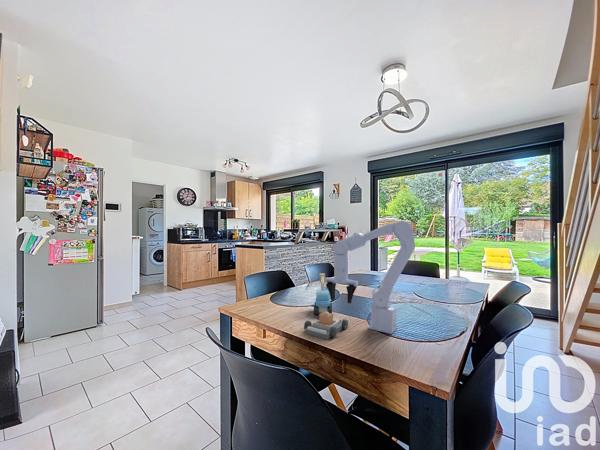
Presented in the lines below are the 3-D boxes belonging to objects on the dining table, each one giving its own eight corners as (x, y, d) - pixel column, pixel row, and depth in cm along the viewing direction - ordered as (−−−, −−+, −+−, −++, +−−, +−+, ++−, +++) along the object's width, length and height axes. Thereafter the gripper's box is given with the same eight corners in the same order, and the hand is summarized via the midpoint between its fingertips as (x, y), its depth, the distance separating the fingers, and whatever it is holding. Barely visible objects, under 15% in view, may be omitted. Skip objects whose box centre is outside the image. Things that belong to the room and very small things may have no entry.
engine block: (333, 325, 103) (333, 312, 103) (328, 328, 99) (328, 314, 100) (324, 323, 105) (324, 310, 105) (319, 326, 102) (319, 312, 102)
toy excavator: (331, 306, 134) (331, 273, 134) (332, 316, 118) (332, 279, 118) (314, 305, 135) (315, 272, 135) (313, 316, 118) (313, 278, 119)
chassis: (349, 326, 105) (349, 317, 106) (330, 340, 92) (330, 330, 92) (322, 320, 113) (322, 312, 113) (302, 332, 99) (302, 322, 99)
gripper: (321, 268, 110) (321, 300, 110) (353, 271, 102) (353, 306, 101) (329, 266, 116) (329, 297, 116) (360, 269, 107) (360, 302, 107)
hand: (341, 301), depth 109 cm, fingers open, 7 cm apart
